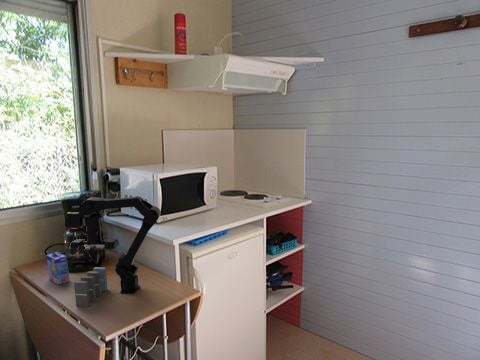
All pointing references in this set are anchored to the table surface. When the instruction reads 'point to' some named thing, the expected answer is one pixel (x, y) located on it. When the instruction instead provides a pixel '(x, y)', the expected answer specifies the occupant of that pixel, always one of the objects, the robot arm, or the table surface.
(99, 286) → the domino
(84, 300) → the domino
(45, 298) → the table surface
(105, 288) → the domino
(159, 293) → the table surface
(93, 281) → the domino
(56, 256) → the ink cartridge box
